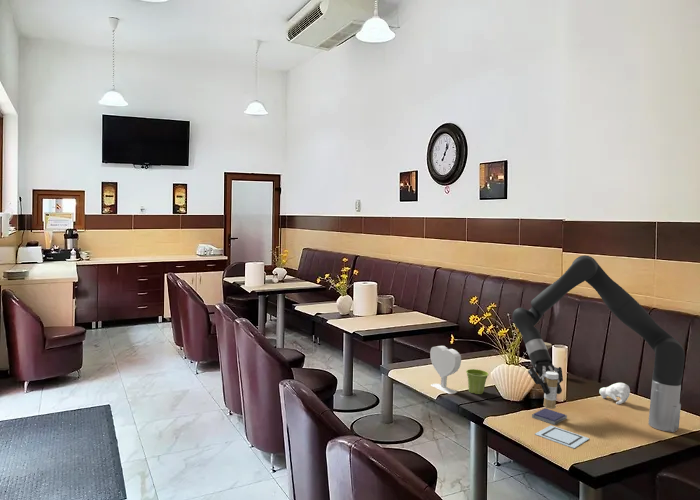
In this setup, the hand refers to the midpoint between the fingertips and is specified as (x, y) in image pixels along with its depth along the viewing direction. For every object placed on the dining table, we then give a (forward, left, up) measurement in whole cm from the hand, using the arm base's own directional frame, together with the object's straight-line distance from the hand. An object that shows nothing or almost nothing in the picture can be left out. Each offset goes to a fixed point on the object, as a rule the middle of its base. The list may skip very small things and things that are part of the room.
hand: (553, 393), depth 200 cm
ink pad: (+1, -1, -10) cm, 10 cm away
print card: (-10, +12, -10) cm, 19 cm away
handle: (+30, -53, -10) cm, 62 cm away
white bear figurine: (-7, -42, -11) cm, 44 cm away
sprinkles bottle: (+2, -1, -6) cm, 7 cm away
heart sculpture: (+47, +5, -11) cm, 48 cm away
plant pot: (+35, -3, -11) cm, 37 cm away
